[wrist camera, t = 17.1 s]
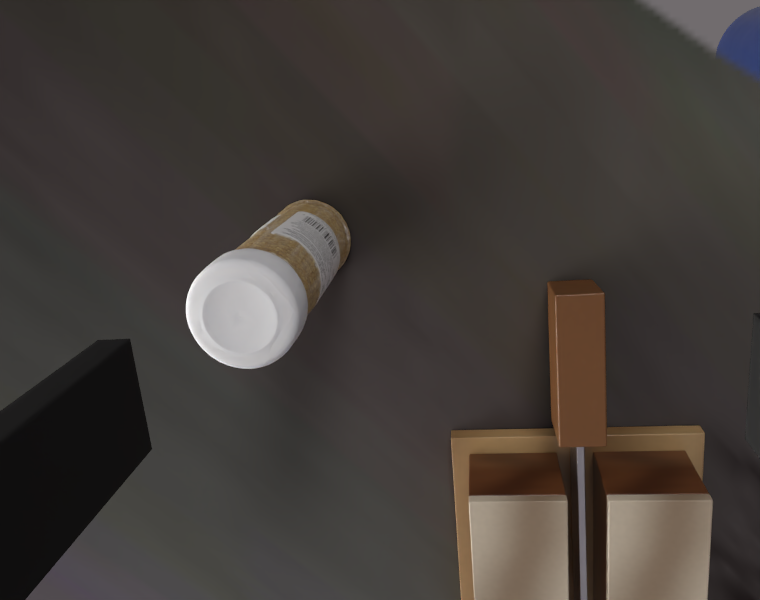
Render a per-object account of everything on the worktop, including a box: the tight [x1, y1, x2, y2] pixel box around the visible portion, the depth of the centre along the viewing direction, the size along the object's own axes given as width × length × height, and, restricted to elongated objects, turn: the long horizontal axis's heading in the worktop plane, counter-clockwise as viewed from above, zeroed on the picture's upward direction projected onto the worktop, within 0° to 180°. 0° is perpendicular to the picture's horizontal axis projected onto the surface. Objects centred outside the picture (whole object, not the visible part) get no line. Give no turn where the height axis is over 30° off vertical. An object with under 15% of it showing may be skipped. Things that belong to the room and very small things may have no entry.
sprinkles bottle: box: [186, 200, 351, 369], centre depth 34 cm, size 5×5×13 cm
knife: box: [547, 279, 607, 600], centre depth 40 cm, size 23×2×4 cm, turn 5°
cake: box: [451, 425, 713, 600], centre depth 41 cm, size 14×14×6 cm
